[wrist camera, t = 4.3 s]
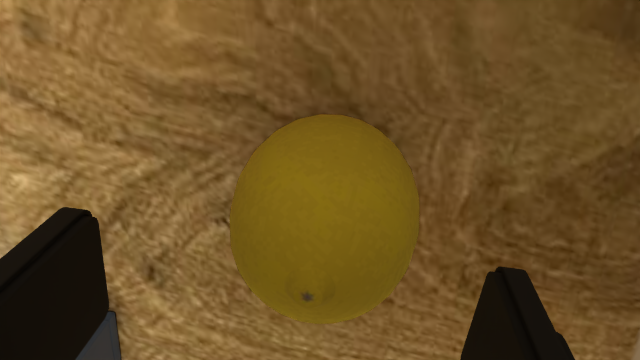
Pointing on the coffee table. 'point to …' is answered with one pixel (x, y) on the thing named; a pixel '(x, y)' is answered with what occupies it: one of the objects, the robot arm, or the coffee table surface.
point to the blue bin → (103, 342)
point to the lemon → (324, 219)
